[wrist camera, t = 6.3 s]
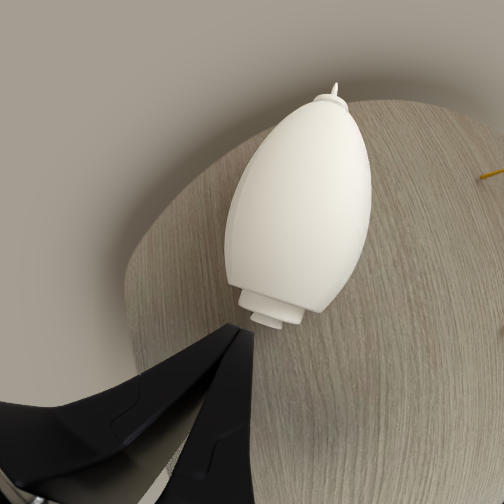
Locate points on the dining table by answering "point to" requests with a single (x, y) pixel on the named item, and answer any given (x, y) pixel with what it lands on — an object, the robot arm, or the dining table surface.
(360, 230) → the white air blower
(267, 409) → the dining table surface
